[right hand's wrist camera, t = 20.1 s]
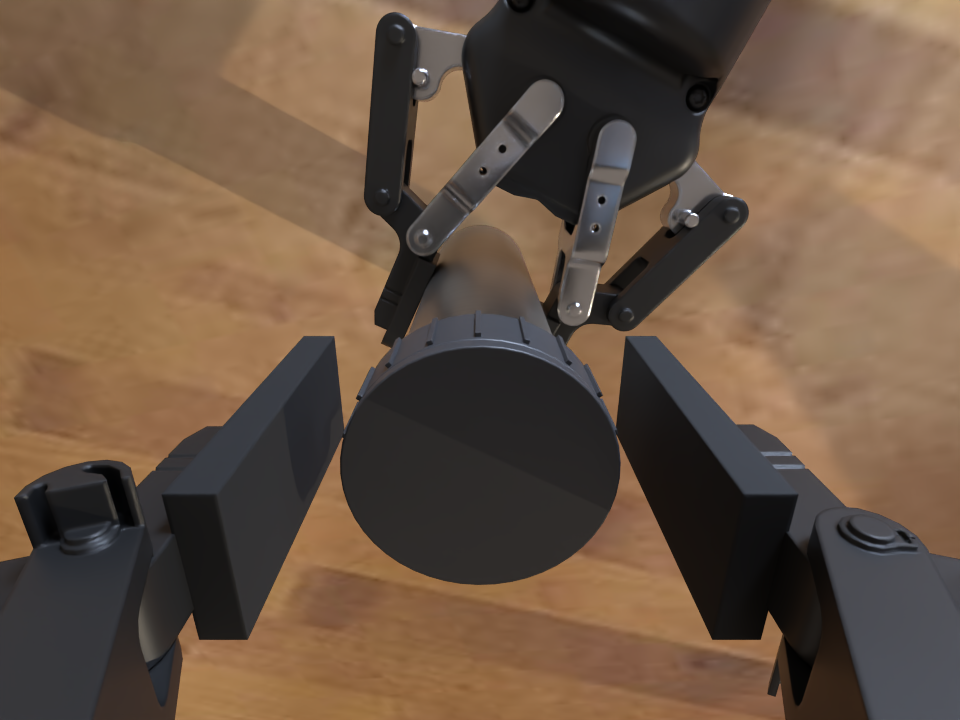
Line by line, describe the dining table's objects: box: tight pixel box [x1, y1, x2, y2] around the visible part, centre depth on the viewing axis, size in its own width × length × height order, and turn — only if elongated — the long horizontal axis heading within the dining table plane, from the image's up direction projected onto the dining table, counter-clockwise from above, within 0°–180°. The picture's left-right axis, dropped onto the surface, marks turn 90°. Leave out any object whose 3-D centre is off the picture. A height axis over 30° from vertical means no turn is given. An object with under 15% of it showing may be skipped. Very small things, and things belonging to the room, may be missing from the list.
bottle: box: [409, 225, 552, 334], centre depth 19 cm, size 4×4×17 cm
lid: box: [340, 310, 621, 585], centre depth 11 cm, size 5×5×2 cm
